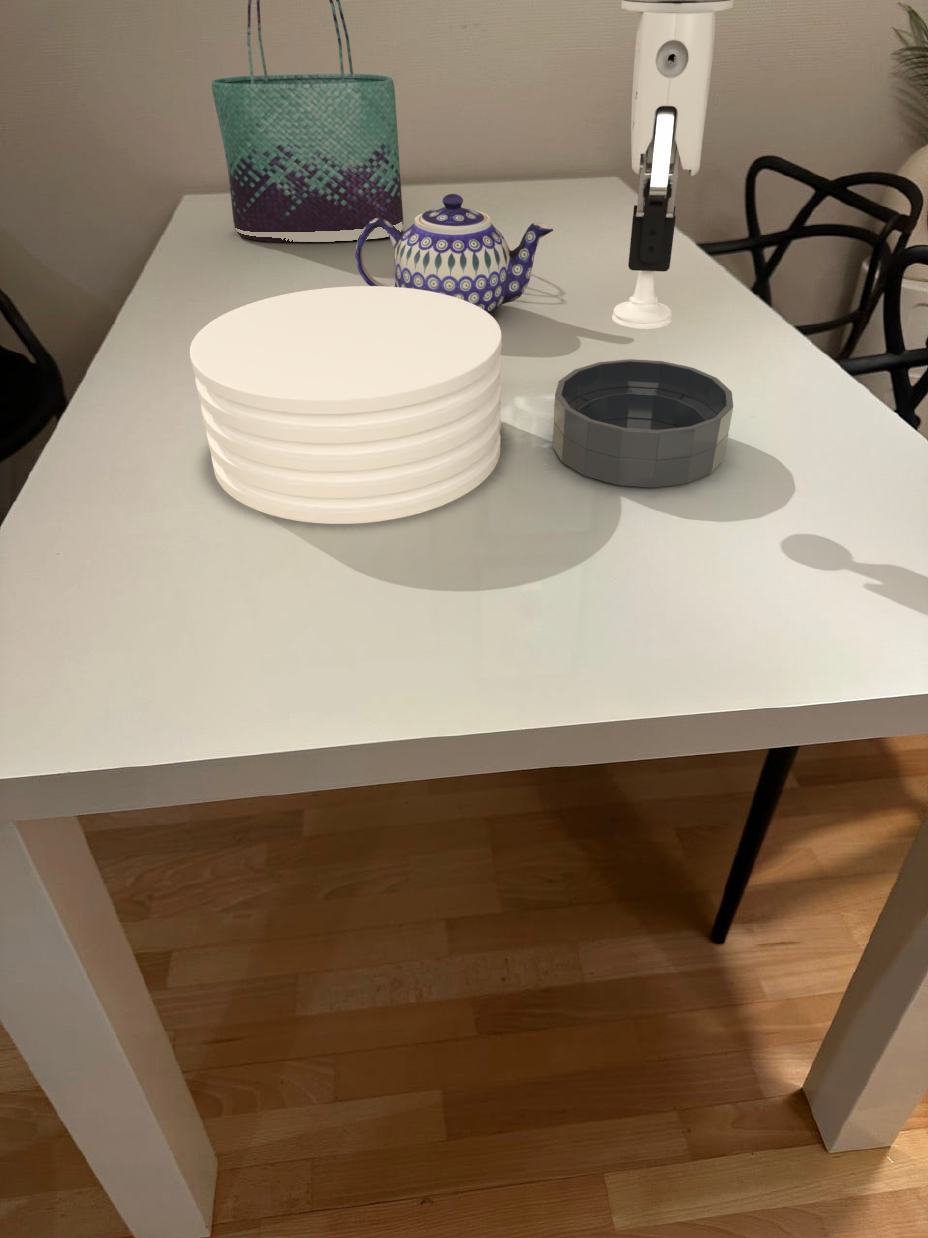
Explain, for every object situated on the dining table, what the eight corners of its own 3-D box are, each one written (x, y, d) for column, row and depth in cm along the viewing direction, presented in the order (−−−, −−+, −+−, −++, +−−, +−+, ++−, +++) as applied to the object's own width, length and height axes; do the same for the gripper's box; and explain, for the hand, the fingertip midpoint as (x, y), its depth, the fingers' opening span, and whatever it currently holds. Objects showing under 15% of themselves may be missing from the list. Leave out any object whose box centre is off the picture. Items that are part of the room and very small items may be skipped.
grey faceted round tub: (719, 420, 92) (728, 364, 88) (725, 499, 80) (737, 438, 76) (562, 410, 95) (565, 355, 91) (544, 485, 82) (547, 424, 78)
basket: (407, 223, 154) (392, -69, 130) (401, 243, 145) (383, -69, 120) (244, 225, 155) (199, -66, 131) (227, 244, 146) (175, -65, 121)
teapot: (350, 333, 113) (338, 208, 104) (371, 294, 125) (362, 179, 116) (548, 337, 111) (554, 210, 102) (550, 297, 123) (555, 180, 114)
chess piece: (600, 321, 74) (611, 190, 68) (629, 305, 77) (641, 178, 71) (654, 333, 72) (670, 198, 65) (682, 316, 75) (699, 185, 69)
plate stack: (188, 420, 94) (164, 311, 87) (434, 373, 103) (430, 271, 96) (252, 554, 74) (228, 426, 67) (551, 481, 82) (557, 361, 75)
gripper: (744, -11, 54) (699, 298, 65) (729, -24, 66) (693, 238, 77) (618, -10, 55) (595, 294, 66) (626, -23, 67) (606, 235, 78)
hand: (648, 262), depth 72 cm, fingers closed on chess piece
